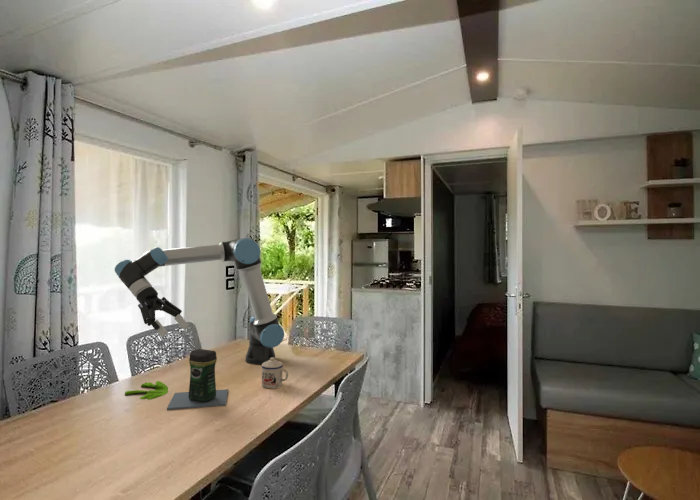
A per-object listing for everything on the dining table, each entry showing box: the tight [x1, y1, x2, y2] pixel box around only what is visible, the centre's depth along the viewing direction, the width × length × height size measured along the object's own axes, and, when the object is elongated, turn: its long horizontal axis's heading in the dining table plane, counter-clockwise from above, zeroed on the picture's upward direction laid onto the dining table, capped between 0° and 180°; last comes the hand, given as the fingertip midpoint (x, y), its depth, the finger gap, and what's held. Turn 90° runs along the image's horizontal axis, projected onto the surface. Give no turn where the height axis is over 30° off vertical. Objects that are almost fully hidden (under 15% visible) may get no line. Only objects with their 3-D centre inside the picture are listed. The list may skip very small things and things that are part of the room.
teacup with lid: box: [260, 357, 289, 389], centre depth 164 cm, size 12×9×12 cm
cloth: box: [124, 380, 169, 401], centre depth 156 cm, size 20×22×2 cm
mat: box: [166, 389, 229, 411], centre depth 147 cm, size 20×15×1 cm
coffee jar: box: [188, 348, 218, 402], centre depth 147 cm, size 10×8×19 cm
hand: (176, 331), depth 156 cm, fingers open, 13 cm apart
